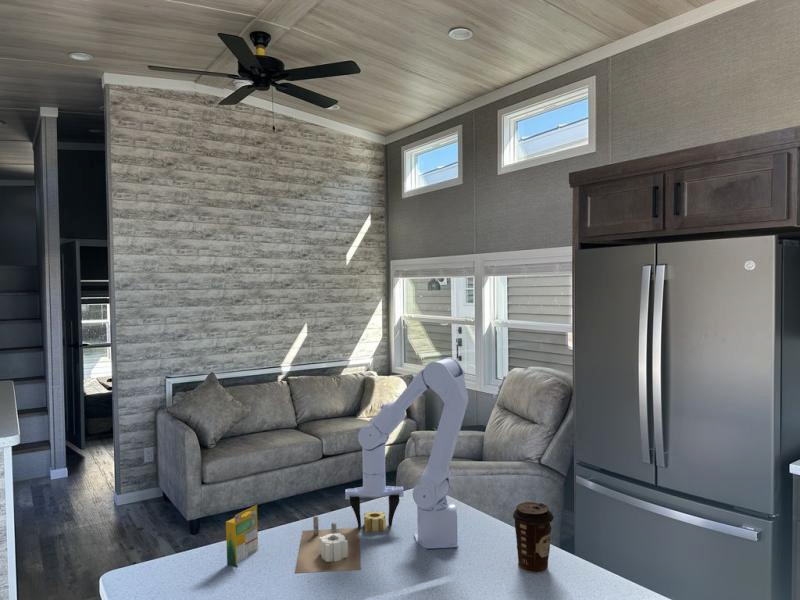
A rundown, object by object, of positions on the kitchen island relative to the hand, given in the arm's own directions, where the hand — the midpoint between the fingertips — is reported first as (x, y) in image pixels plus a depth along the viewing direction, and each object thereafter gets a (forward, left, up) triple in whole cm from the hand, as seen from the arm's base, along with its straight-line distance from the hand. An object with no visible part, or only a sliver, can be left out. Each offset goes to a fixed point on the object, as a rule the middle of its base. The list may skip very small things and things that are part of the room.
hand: (374, 525), depth 148 cm
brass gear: (0, 0, -1) cm, 1 cm away
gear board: (+11, +11, -1) cm, 16 cm away
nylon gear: (+10, +15, 0) cm, 18 cm away
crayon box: (+31, +12, -2) cm, 33 cm away
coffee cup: (-33, +23, -2) cm, 41 cm away
